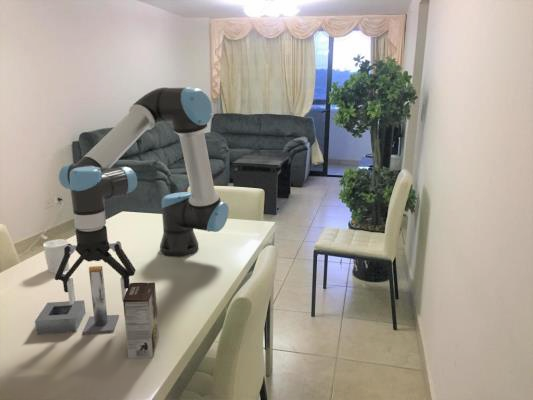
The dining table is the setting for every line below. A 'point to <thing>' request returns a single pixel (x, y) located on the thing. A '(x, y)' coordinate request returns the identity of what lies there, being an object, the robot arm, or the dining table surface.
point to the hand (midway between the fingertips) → (98, 300)
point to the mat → (109, 327)
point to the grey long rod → (98, 295)
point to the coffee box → (141, 320)
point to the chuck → (60, 317)
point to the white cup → (55, 254)
